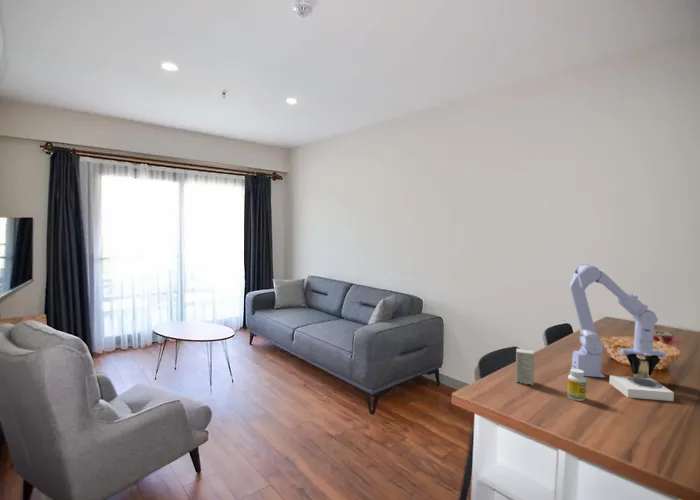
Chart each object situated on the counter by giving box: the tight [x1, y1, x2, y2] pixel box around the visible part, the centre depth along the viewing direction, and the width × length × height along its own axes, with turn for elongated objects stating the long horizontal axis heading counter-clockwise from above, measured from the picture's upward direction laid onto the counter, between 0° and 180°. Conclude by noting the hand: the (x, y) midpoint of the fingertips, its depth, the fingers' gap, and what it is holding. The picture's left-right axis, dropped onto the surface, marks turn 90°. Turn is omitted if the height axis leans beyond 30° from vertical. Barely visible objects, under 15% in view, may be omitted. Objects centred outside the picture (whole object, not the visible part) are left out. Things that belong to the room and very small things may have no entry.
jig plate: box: [609, 374, 675, 402], centre depth 131 cm, size 14×12×3 cm
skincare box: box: [515, 348, 535, 386], centre depth 138 cm, size 6×4×12 cm
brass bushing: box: [633, 357, 650, 378], centre depth 141 cm, size 4×4×8 cm
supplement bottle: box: [566, 368, 587, 402], centre depth 125 cm, size 5×5×10 cm
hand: (641, 373), depth 141 cm, fingers closed on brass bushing, 4 cm apart
